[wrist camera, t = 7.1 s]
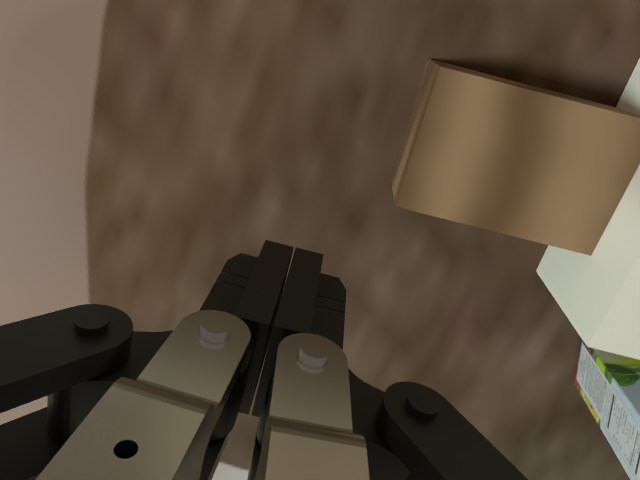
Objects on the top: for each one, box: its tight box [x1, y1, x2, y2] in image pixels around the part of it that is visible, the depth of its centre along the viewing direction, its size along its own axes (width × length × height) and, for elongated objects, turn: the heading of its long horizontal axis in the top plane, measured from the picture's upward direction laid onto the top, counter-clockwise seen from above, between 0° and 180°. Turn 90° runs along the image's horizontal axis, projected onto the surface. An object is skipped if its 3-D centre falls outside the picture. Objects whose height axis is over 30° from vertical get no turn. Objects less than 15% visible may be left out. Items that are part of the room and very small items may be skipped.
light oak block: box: [391, 59, 640, 256], centre depth 30 cm, size 12×8×6 cm, turn 77°
